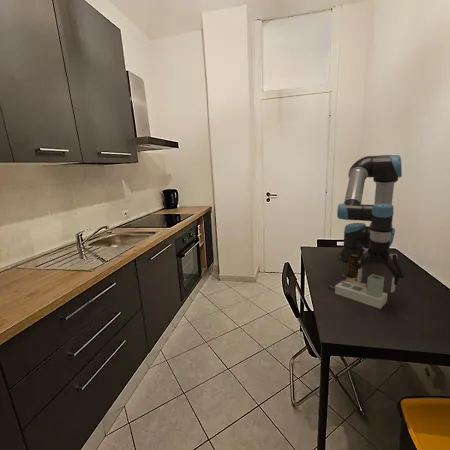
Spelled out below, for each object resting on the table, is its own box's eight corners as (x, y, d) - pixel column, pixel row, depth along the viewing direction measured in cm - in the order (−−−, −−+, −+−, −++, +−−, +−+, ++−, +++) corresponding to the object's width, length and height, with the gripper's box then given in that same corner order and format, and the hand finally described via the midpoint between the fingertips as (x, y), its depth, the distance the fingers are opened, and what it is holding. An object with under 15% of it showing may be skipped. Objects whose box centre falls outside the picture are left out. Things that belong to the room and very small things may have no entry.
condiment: (362, 276, 143) (364, 255, 140) (354, 280, 139) (355, 259, 136) (350, 271, 149) (351, 252, 146) (341, 275, 145) (342, 255, 142)
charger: (370, 294, 120) (372, 273, 118) (382, 297, 117) (384, 276, 114) (366, 298, 117) (367, 277, 115) (378, 302, 113) (380, 280, 111)
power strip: (325, 290, 130) (325, 282, 129) (332, 284, 135) (332, 277, 134) (380, 308, 112) (381, 299, 111) (386, 301, 117) (387, 293, 116)
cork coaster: (347, 279, 140) (347, 278, 140) (367, 285, 133) (367, 284, 133) (339, 285, 134) (339, 284, 133) (359, 292, 126) (359, 291, 126)
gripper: (346, 237, 117) (343, 280, 122) (412, 248, 99) (406, 299, 104) (353, 233, 122) (350, 275, 127) (417, 243, 104) (411, 292, 109)
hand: (375, 286), depth 115 cm, fingers open, 13 cm apart
